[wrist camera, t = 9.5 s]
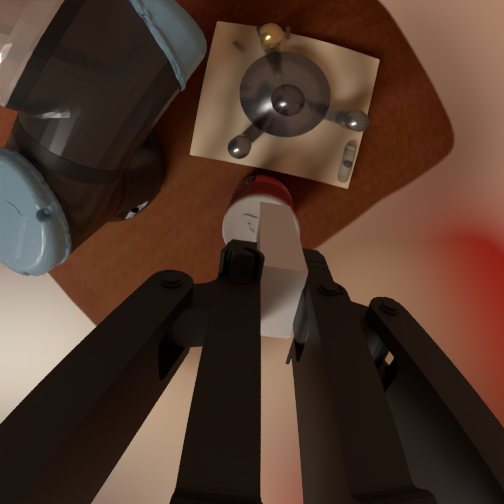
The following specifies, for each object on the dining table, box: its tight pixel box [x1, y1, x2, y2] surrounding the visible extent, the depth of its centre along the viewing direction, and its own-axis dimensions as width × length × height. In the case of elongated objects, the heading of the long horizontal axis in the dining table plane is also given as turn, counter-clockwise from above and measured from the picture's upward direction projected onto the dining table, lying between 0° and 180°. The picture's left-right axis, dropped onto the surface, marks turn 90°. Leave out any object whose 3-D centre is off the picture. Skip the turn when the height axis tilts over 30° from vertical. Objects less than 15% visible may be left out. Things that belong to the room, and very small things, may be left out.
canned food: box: [222, 175, 300, 245], centre depth 37 cm, size 8×8×11 cm
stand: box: [190, 21, 379, 189], centre depth 34 cm, size 20×18×4 cm
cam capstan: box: [228, 23, 369, 159], centre depth 30 cm, size 14×16×7 cm
